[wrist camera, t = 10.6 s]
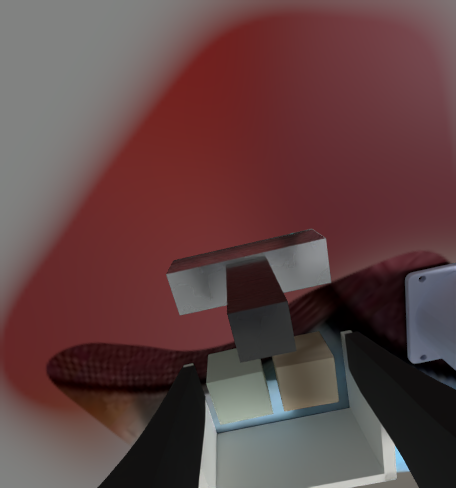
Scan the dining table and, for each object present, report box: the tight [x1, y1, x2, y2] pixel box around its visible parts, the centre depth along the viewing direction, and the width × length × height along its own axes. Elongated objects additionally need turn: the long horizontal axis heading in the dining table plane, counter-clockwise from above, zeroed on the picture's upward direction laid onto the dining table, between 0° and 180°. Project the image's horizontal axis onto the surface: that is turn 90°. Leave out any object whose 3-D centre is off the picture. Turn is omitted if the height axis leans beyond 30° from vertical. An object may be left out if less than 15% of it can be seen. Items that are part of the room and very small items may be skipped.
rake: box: [166, 229, 331, 363], centre depth 14 cm, size 10×3×8 cm, turn 103°
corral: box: [183, 330, 397, 488], centre depth 19 cm, size 14×9×5 cm, turn 103°
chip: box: [272, 331, 339, 411], centre depth 19 cm, size 4×4×3 cm
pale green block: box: [206, 348, 273, 425], centre depth 20 cm, size 4×4×3 cm
